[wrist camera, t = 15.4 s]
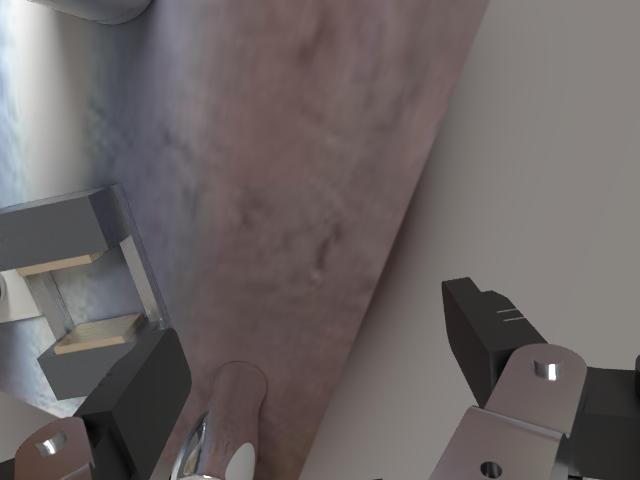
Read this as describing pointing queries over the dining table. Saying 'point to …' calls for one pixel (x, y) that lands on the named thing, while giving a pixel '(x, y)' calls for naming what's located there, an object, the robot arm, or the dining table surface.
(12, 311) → the placing pad
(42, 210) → the bench vise
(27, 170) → the dining table surface
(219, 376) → the beer glass
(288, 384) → the dining table surface
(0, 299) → the pill bottle
